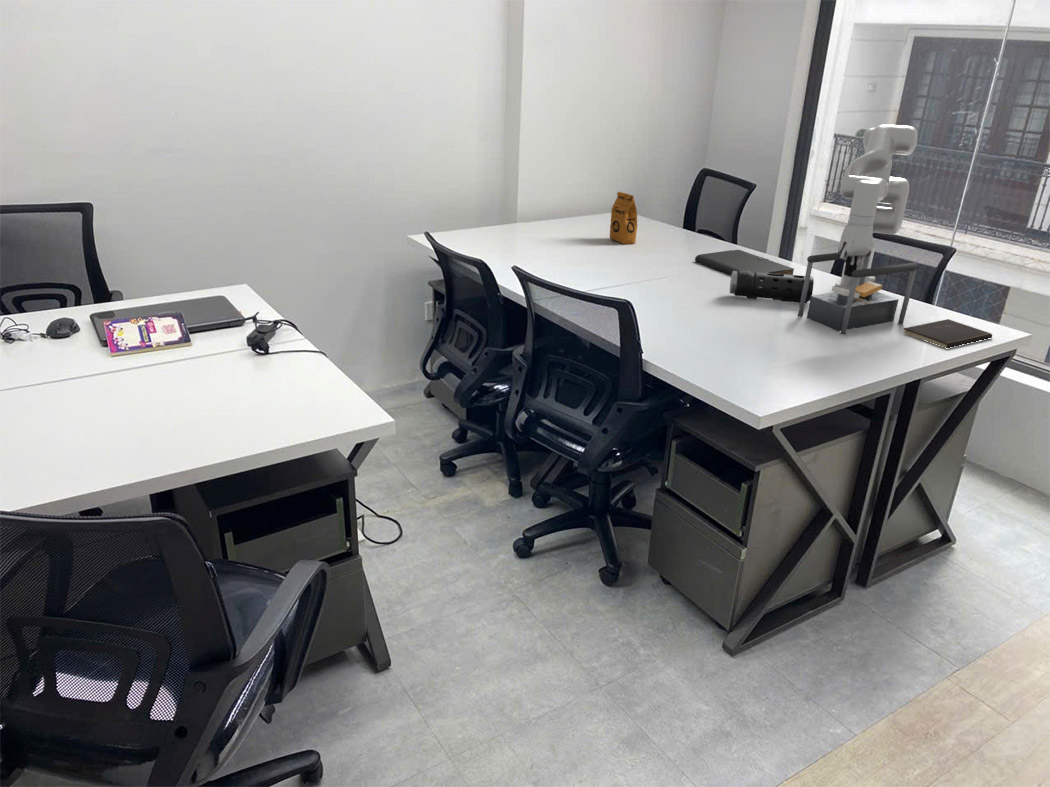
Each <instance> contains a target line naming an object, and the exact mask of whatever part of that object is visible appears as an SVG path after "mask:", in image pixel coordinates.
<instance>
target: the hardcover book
mask: <svg viewBox="0 0 1050 787" xmlns="http://www.w3.org/2000/svg"><path fill="white" fill-rule="evenodd" d="M903 330H904V331H903V333H905V334H904V335H907V334H908V335H907V336H910V337H912V336H913V338H915V337H916V338H915V339H918V338H919V339H918V340H920V339H922V340H921V341H923V340H926V341H928V342H927V343H929V342H931V343H934V344H937V345H940V346H943V347H946V348H950V347H954V346H959V345H962V344H967V343H971V342H976V341H979V340H984V339H988V338H991V339H992V338H993V334H992V333H991V332H989V331H986V330H981V329H979V328H976V327H974V326H970V325H966V324H964V323H962V322H959V321H955V320H953V319H941V320H937V321H933V322H928V323H923V324H922V323H921V324H919V325H913V326H909V327H908V326H907V327H903ZM926 341H925V342H926ZM931 343H930V344H931ZM976 343H977V342H976ZM934 344H933V345H934ZM937 345H936V346H937ZM959 347H960V346H959ZM950 349H951V348H950Z"/></svg>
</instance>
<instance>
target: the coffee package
mask: <svg viewBox="0 0 1050 787" xmlns="http://www.w3.org/2000/svg"><path fill="white" fill-rule="evenodd" d="M616 195H617V197H616V198H615V201H614V203H613V205H612V207H611V213H610V214H611V216H610V226H609V239H611V240H612V241H615V242H617V243H618V244H619V243H620V244H623V245H632V244H633V245H634V244H636V241H637V230H638V211H637V210H638V209H637V205H636V201H635V199H634V195H632V194H628V193H627V192H622V191H618V192H616Z"/></svg>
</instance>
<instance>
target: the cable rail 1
mask: <svg viewBox="0 0 1050 787" xmlns="http://www.w3.org/2000/svg"><path fill="white" fill-rule="evenodd" d="M870 255H871V250H869V252H868V253H867V254H866V257H865V258H864V263H863V267H862V269H867V267H868V263H869V258H870ZM840 256H841V254H840V253H838V252H832V253H822V254H815V255H813V254H812V255H809V256H808V257H807V258H806V260H807V265H806V271H805V274H804V276H805V280H804V285H803V291H802V296H801V301H800V303H799V307H798V312H797V317H799V318H802V317H803V315H804V311H805V305H806V303H805V301H806V296H807V291H808V286H809V280H810V276H811V274H812V270H813V264H814V263H815V264H816V263H822V262H829V261H839V260H841V259H840ZM864 281H865V277H860V281H859V286H860V285H862V284H864Z"/></svg>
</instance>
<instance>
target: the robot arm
mask: <svg viewBox="0 0 1050 787" xmlns="http://www.w3.org/2000/svg"><path fill="white" fill-rule="evenodd" d="M918 138H919V137H918V131H917V129H916V128H915V127H913V126H910V125H900V124H899V125H898V124H880V125H877V126H875V127H870V128H867V129H866V130H865V132H864V134H863V138H862V144H863V148H864V153H863V155H861V156H859V157H856V158H855V159H854V160H853V161H852V162H850V163H849V164H848V166H847V167H846V169H845V171H844V175H843V178H842V180H841V184H840V192H839V193H840V196H842V197H843V198H844V199H847V200H852V201H851V205H850V211H849V216H848V220H847V223H846V224H845V225H844V227H843V230H842V233H841V237H840V240H839V244H838V247H837V253H840V254H841V256H840V259H839V260H844V264H843V268H842V273H841V277H840V280H838V281H836V282H835V287H839V288H844V289H849V290H850V287H851V282H852V277H853V276H852V272H853V271H855V270H862V267H863V263H864V258H865V257H866V254H867V253H868V252H869V250H871V255H870V258H869V263H868V267H867V269H870V268H872V262H873V258H874V254H875V249H876V240H875V239H874V236H873V233H874V234H875V233H877V234H884V235H896V234H898V233H899V231H900V229H901V228H902V224H903V220H904V215H905V212H906V207H907V202H908V198H909V193H910V182H909V180H908V179H906V178H902V177H898V176H897V177H895V176H891V171H892V167H893V160H892V156H893V155H897V156H911V155H912V154H913V153H914V152H915V149H916V148H917V144H918ZM878 204H883V205H885V204H886V205H890V206H891V207H889V206H888V207H887V206H879V205H878ZM859 281H860V278H858V280H857V285H856V287H858V286H859ZM868 281H871V282H874V283H875V282H876V276H867V277H865V281H864V283H866V282H868Z"/></svg>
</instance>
